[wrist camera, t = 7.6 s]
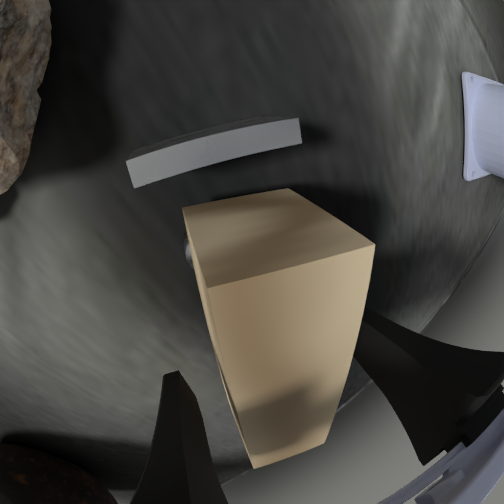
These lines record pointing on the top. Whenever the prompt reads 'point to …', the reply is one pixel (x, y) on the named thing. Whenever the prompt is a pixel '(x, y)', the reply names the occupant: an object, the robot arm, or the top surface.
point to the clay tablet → (20, 80)
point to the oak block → (279, 312)
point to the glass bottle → (46, 479)
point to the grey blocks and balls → (210, 150)
